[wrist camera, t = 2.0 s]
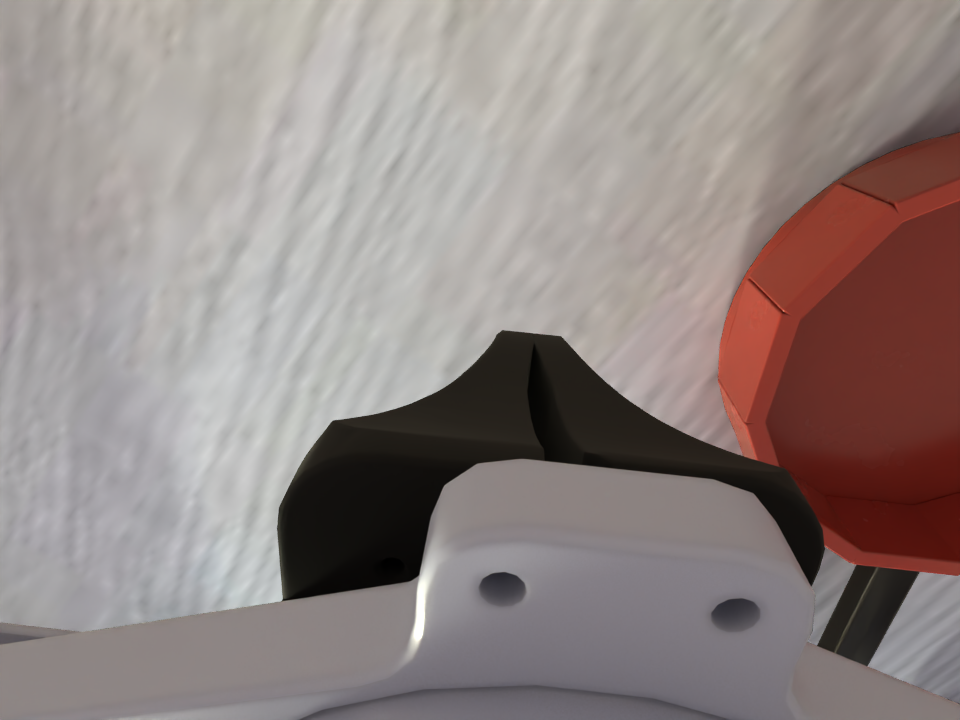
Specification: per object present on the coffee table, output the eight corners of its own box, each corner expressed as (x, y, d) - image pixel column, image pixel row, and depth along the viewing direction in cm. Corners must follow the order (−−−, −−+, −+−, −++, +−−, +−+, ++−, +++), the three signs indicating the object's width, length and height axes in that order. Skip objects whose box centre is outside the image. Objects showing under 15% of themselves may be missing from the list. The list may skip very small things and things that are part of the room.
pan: (786, 106, 15) (845, 118, 12) (1259, 152, 14) (1429, 175, 12) (640, 612, 22) (656, 689, 19) (948, 646, 22) (1008, 729, 19)
